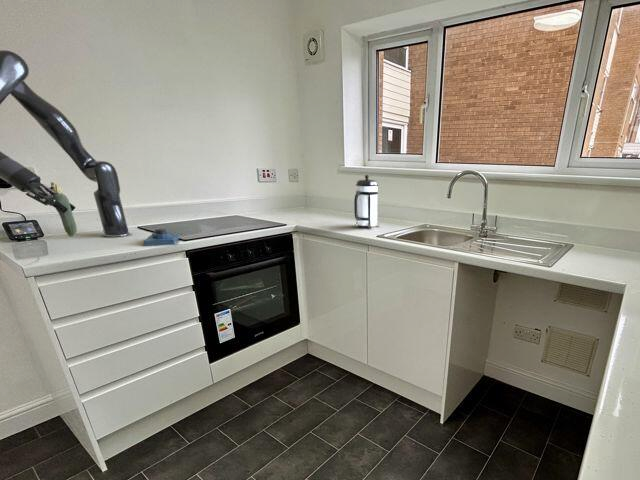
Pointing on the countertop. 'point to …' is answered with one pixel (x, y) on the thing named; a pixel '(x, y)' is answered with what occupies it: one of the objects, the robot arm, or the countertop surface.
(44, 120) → the robot arm
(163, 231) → the button
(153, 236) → the button box
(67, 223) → the vegetable
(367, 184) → the coffee press
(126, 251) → the countertop surface
